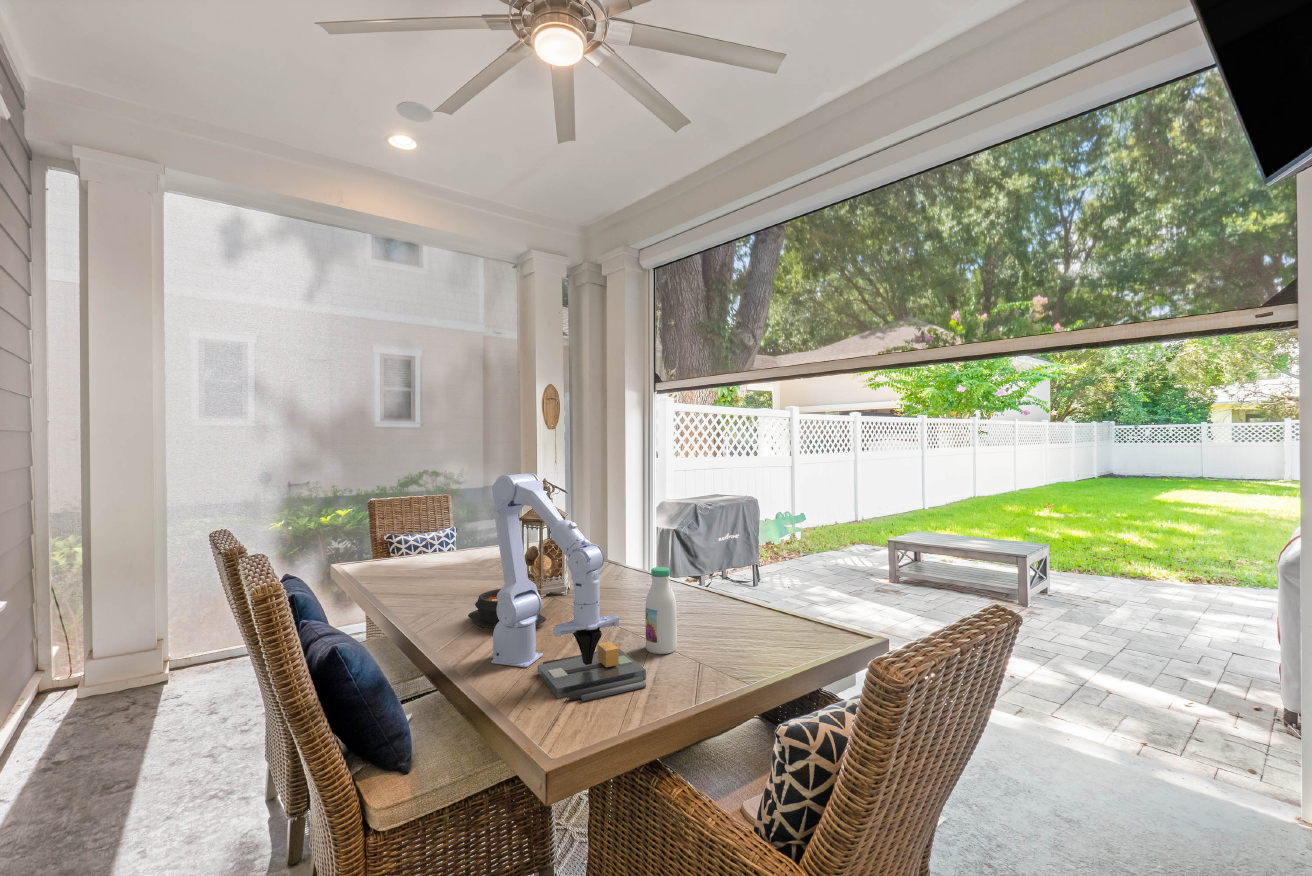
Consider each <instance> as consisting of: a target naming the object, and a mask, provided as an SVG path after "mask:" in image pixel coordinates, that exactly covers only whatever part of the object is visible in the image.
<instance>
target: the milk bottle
mask: <svg viewBox="0 0 1312 876" xmlns="http://www.w3.org/2000/svg"><path fill="white" fill-rule="evenodd" d="M650 573H651V575H650V576H651V580H652V581H651V584H650V588H649V590H648V592H647V596H646V599H645V610H644V611H645V616H644V617H645V648H646V650H647V652H649V653H651V654H655V655H665V654H666V655H667V654H672V653H674V652H675V651H676V650H677V647H678V623H677V622H678V621H677V619H678V618H677V617H678V616H677V615H678V614H677V600H676V596H675V593H674V591H673V588H672V585H671V583H670V578H671V576H670V575H671V571H670V568H669V567H667V566H654V567H652V568H651V571H650Z"/></svg>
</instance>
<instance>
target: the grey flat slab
mask: <svg viewBox="0 0 1312 876" xmlns="http://www.w3.org/2000/svg"><path fill="white" fill-rule="evenodd" d="M618 653H619V665H615V666H610V667H605V666H604V665H603V664H602V663H601V662H600V661H599V660H598V655H597V654H594V655H593V660H592V664H589V665H585V664H584V663H583V660H582V657H577V658H572V659H566V660H561V661H556V662H551V663H546V664H543V663H540V664H537V675H538V676H539V677H540V679H541V680H542V681H543V683H544V684H545V685H546V687H547V688H548V689H549V690H550V691H551V693H552V694H553V695H554V697H555V698H556V699H557V700H558V699H561V698H565V697H569V696H568V693H569V692H572V691H577V690H581V689H586V688H591V687H595V686H600V685H604V684H609V683H613V682H618V681H622V680H627V679H632V678H636V677H642V678H643V680H646V679H647V670H646V669H645V667H643V666H642V665H640V664H639V663H638V662H637V661H636V660H634V659H633V658H631V657H630V655H628V654H627V653H626V652H625V651H623V650H622V649H619V648H618Z"/></svg>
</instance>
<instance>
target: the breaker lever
mask: <svg viewBox="0 0 1312 876" xmlns="http://www.w3.org/2000/svg"><path fill="white" fill-rule="evenodd" d="M596 649H597V651H596V652H597V655H598V660H599V661H600V662H601V663H602V664H603V665H604V666H605V667H610V666H615V665H619V653H618V649H619V647H618V646H616V645H615V644H614V643H612V642H611V641H605V642H600V643H599V642H598V644H597V646H596Z"/></svg>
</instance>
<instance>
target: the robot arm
mask: <svg viewBox="0 0 1312 876" xmlns="http://www.w3.org/2000/svg"><path fill="white" fill-rule="evenodd" d="M491 490H492V496H493V498H492V499H493V515H494V520H495V527H496V528H495V529H496V535H497V540H498V547H499V554H500V560H501V566H502V567H501V568H502V574H503V580H504V581H503V582H504V584H503V586H501V588H500V589H501V590H500V591H499V592H498V594H497V599H498V604H497V616H498V619H499V620H500V622H498V623H497V625H496V626H495V629H493V632H492V655H493V656H492V660H491V664H495V665H503V666H511V667H520V668H528V667H529V666H531V665H533V663H534V662H536V661H537V660H539V659H540V658H542V657H543V656H544V653H543V652H537V651H536V647H537V646H536V645H537V644H536V643H537V642H536V640H537V639H536V626H535V620H537V615H538V614H539V613H540V614H541V612H542V608H543V600H542V598H541V595H540V594H539V592H538V588H537V584H535V583H534V582H533V581H531V580H530V579H529V577H528V571H527V564H526V558H525V557H526V556H525V551H524V550H525V549H524V544H523V538H522V531H521V523H520V518H519V517H520V516H519V514H520V512H521V510H522V509H523V508H524V507H525V506H527V507H528V506H529V507H531V509H532V510H533V511H534V512H535V513H536V514H537V515H538V516H539V517H540V519H542V521H543V522H544V523H545V524H546V525H547V526H548V527H549V528H550V529H551V531H550V537H551V539H552V540H553V541H554V543H555V544H556V545H557V547H558V548H559V549H560V550H561V551H562V553H563V554H564V555H565V557H566V558H567V559H568V560H566V564H567V568H568V570H569V572H570V573H571V580H572V583H573V584H572V585H573V589H572V590H573V593H572V597H573V619H572V620H568V621H565V622H562V623H559V624H554V625H553V635H554V637H561V636H562V635H568V634H569V635H570V634H573V637H574V639H575V640H576V643H577V645H578V648H579V651H580V655H582V660H583V663H584V664H585V665H589V664H592V660H593V655H594V652H596V649H597V644H599V641H600V640H601V638H602V635H603V634H602V631H601V629H605V628H609V627H619V626H620V619H619V618H620V617H619V616H618V615H603V616H602V615H601V612H600V611H601V609H600V608H601V605H600V604H601V602H600V594H601V591H600V589H601V588H600V569H602V567H603V566H604V564H605V554H604V551H603V550H602V547H601V546H600V545H598V544H596V543H592V542H591V541H589V540H588V538H586V537H585V536H584V534H583V532H581V531H580V530H579V528H578V525H577V524H576V522H575V521H572V520H571V519H564V518H563V516H562V515H561V513H560V512H559V510H558V509H557V508H556V506H555V505H554V503H553V502H552V500H551V499H550V498H549V496H548V495H547V494H546V492H545V491H544V483H543V481H541V480H540V478H539V477H538V475H536V474H535V473H533V472H526V473H519V474H517V473H515V474H502V475H500V476H498V477H497V478H496V480H495V482H494V483H493V485H491ZM519 593H521V594H519ZM517 594H518V595H517Z"/></svg>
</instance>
